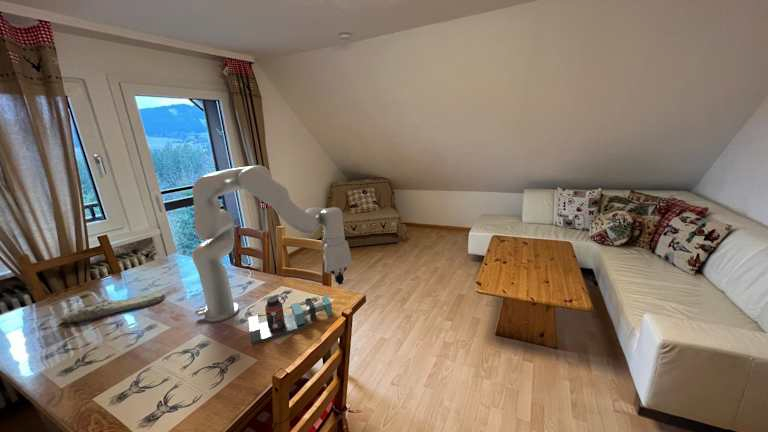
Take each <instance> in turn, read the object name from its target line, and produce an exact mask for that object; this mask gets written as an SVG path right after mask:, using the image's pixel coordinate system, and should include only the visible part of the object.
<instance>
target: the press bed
mask: <svg viewBox="0 0 768 432" xmlns="http://www.w3.org/2000/svg"><path fill="white" fill-rule="evenodd" d="M304 300H305V307H306V306H308V308H309V313H310V315H309V319H310V321H311V323H312V322H316V321H318V320H317V313H316V310H315V306H314V304H315V303H313V301H312V298H310V297H308V298H305V299H304ZM284 321H285V324H284V326H283V327H281V328H280V329H277V330H271V329H269V327H268V323H267V321H264V322H260V323H259V318H258V315H254V316H250V317H248V327H249V334H250V340H251V345H252V347H253V346H256V345H260V344H263V343H266V342H269V341H271V340H275V339H279V338H281V337H285V336H287V335H291V334H293V333H294V334H295V333H298V332H300V331H304V330H306V329H310V328H311V326H310V325H311V324H310V322H309V320H308V318H307V316H304V321H305V323H304V324H300V325H296V322H295V319H294V317H293V313H292V314H288V315H287V314H286V315H284Z"/></svg>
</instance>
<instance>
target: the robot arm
mask: <svg viewBox="0 0 768 432" xmlns="http://www.w3.org/2000/svg"><path fill="white" fill-rule="evenodd" d="M240 190H245V191H247V192H249V193H250V194H252V195H253V196H254V197H257V198H258V199H259V200H261V201H263V202H264V203H265V204H266V205H269V207H272V209H273V210H274V211H275V212H276V213H275V214H277V215H278V216H279V217H280V219H281V220H282V221H283V222H284V223H286V224H287V225H288V226H290V227H291V228H293V229H294V230H296V231H297V232H300V233H302V234H306V235H311V234H313V233H315V232H316V231H318V229H319V227H321V226H322V229H323V239H321V240H320V242H321V244H323V248H322V249H323V254H322V255H323V257H322V258H323V266H324V273H325V274H332V275H334V280H335V283H337V284H338V285H339V286H340V285H343V284H344V280H345V279H344V274H345V272H346V270H347V269H350V268H351V267H352V262H353V261H352V256H351V250H350V247H349V243H348V240H345V239H346V237H345V229H344V219H343V212H342V209H341V208H340V207H328V208H325V207H314V206H313V207H309V208H307V209H306V210H303V209H301V208H300V207H298V206H297V205H296V204H295V203H294V202H293V200H292V199H291V197H290V196H289V195H290V194H289V192H288V189H287V187H285V186H284V185H282V184H280V183H279V182H277V181H276V180H275V179H273V177H272V173H271V171H270V170H269V168H267V167H266V166H263V165H260V164H257V165H252V166H244V167H237V168H230V169H229V168H228V169H223V170H220V171H216V172H215V171H214V172H211V173H208V174H205V175H202V176H200V177H199V178H197V179H196V180H195V182H194V183H193V186H192V199H193V219H194V231H195V234H196V237H198V239H200V240H203V242H201V243H200V244H198V245H196V247H195V248H194V249H193V251H192V254H191V260H192V261H193V264H194V265H195V268H196V270H197V273H198V276H199V279H200V284H201V288H202V292H203V295H204V299H205V304H206V306H203V307H201V308H196V309H194V314H195V315H197V316H198V317H200V316H204V319H205V321H207V322H211V323H212V322H213V323H218V322H223V321H226V320H228V319H229V318H232V317H234V316H235V315H236V314H237V313H238V312H239V310H240V306H239V304H238V303H236V302H235V301H234V298H233V293H232V288H231V284H230V280H229V274H228V270H227V268H226V267H225V265H224V264H223V262H222V260H224V258H225V257H226V256H227V257H228V255H229V254H230V253H232V251H233V249H234V246H235V229H234V228H235V223H234V218H233V216H232V214H230V212H228V211H227V210H225V209H223V208H221V202H220V200H219V198H218V197H221V196H224V195H228V194H230V193H232V192H235V191H240Z"/></svg>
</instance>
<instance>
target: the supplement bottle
mask: <svg viewBox="0 0 768 432" xmlns="http://www.w3.org/2000/svg"><path fill="white" fill-rule="evenodd" d="M264 308H265V314H266V315H265V316H266V322H267V323H268V327H269V329H271V330H277V329H280V328H281V327H283V326H284V324H285V321H284V316H285V315H284V307H283V303H282V302H281V301H280V300H279V296H276V295H275V296H270V297H267V299H266V304H265V307H264Z"/></svg>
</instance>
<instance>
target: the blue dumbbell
mask: <svg viewBox="0 0 768 432" xmlns="http://www.w3.org/2000/svg"><path fill="white" fill-rule="evenodd" d="M313 304H314V306H315V310H316V314H317V313H319V312H323V311H324V312H325V314H326V316H327V317H329V316H331V315H333V308H332V307H333V306H332V305H333V304H332V302H331V300H330V298H329V297H328V295H324V296H322V297H321V302H317V303H313ZM291 312H292V314H293V317H294V319H295V322H296V325H300V324H304V323H305V321H304V316H306V317H307V316H310V313H309V308H308V306H306V305H305V306H303V307H302V306H301V304H300V302H299V301H297V302H295V303H291Z"/></svg>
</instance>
